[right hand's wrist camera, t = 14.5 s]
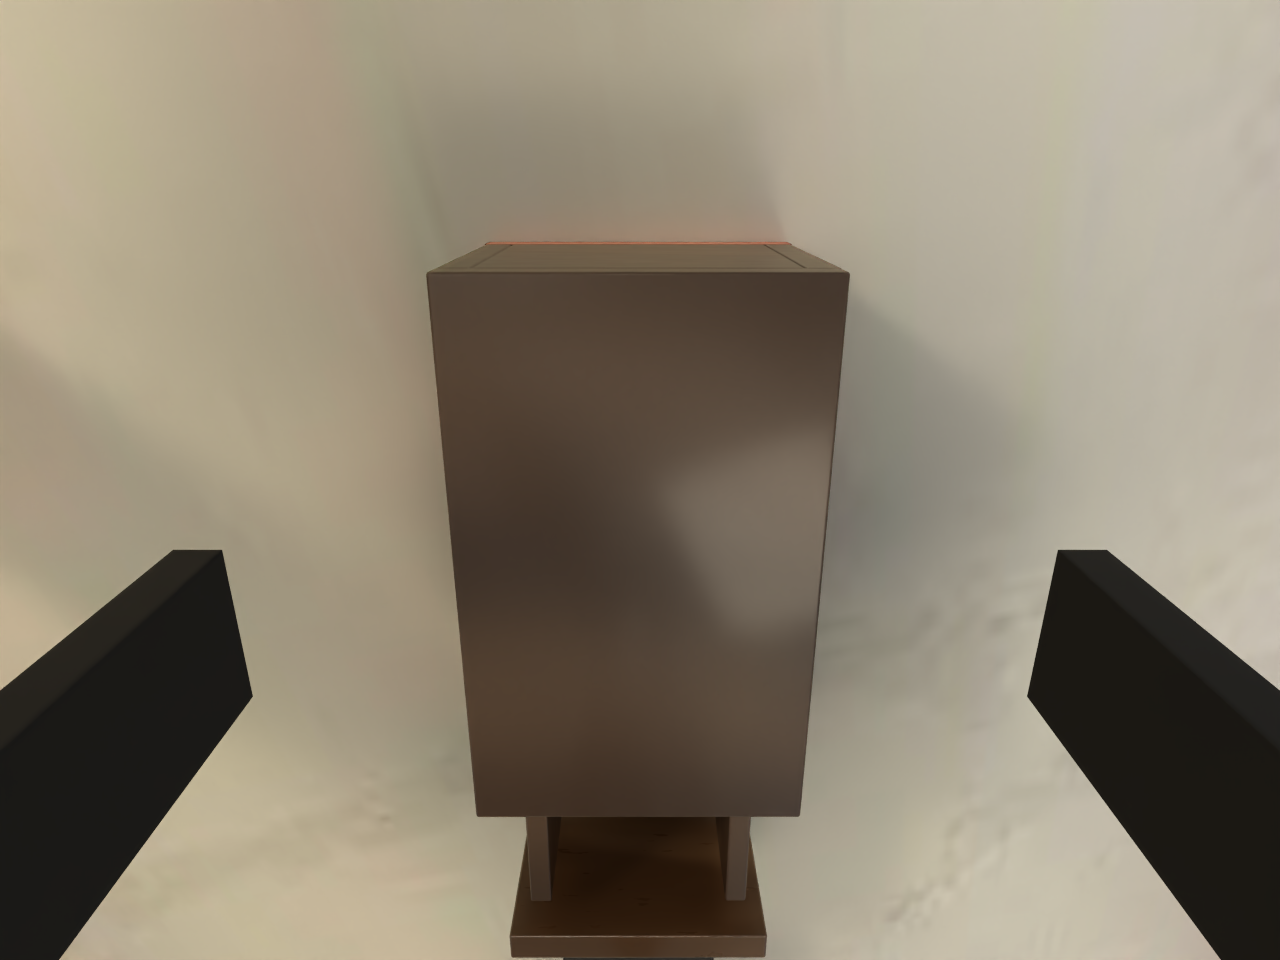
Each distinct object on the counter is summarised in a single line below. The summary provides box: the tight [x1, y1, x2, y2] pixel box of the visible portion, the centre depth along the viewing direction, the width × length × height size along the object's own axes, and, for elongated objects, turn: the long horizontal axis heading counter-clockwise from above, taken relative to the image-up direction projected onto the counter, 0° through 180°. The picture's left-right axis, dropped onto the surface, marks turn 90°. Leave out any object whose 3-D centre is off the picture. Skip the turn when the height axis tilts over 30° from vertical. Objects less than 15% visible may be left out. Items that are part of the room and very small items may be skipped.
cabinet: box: [426, 242, 850, 817], centre depth 29 cm, size 18×11×10 cm, turn 0°
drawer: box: [510, 817, 767, 960], centre depth 33 cm, size 23×10×8 cm, turn 0°
